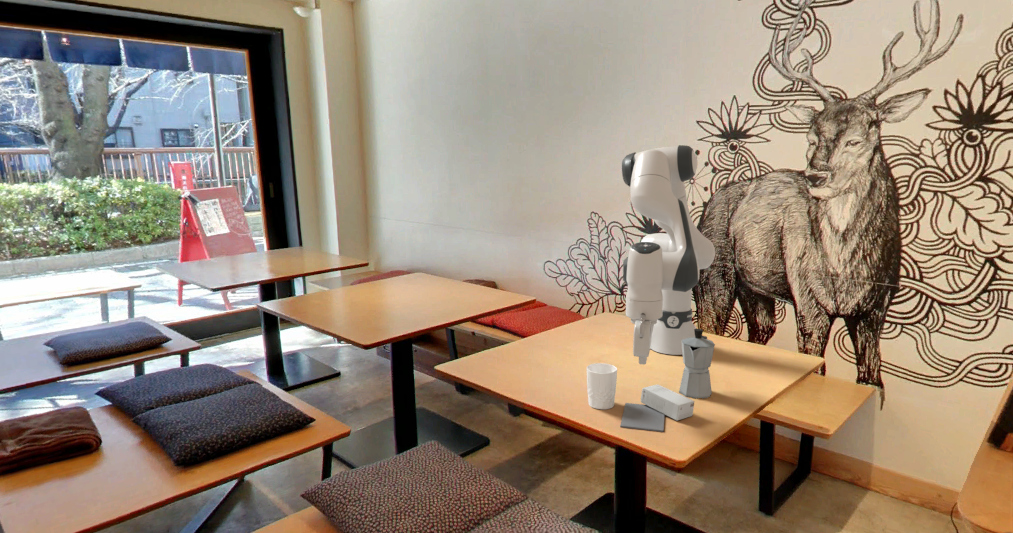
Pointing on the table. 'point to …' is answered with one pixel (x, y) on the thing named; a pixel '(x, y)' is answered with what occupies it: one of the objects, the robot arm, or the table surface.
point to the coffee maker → (696, 366)
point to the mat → (642, 418)
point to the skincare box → (667, 402)
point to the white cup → (601, 385)
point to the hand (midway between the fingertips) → (642, 362)
